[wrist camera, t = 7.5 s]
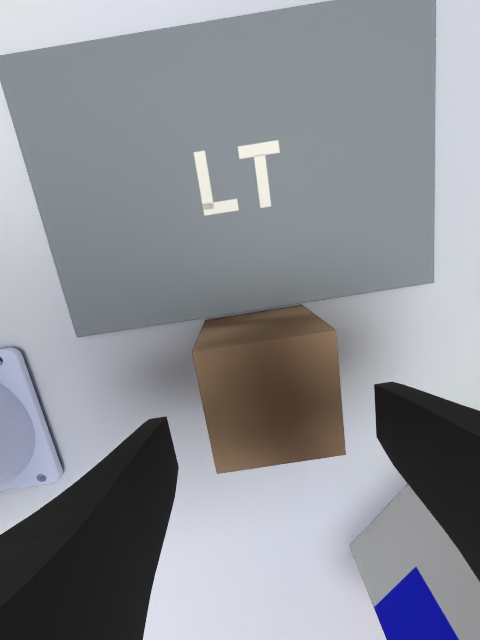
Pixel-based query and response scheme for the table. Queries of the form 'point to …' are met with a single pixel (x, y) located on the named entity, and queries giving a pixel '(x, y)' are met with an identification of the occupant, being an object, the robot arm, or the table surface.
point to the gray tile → (233, 160)
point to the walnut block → (270, 388)
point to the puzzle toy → (417, 575)
